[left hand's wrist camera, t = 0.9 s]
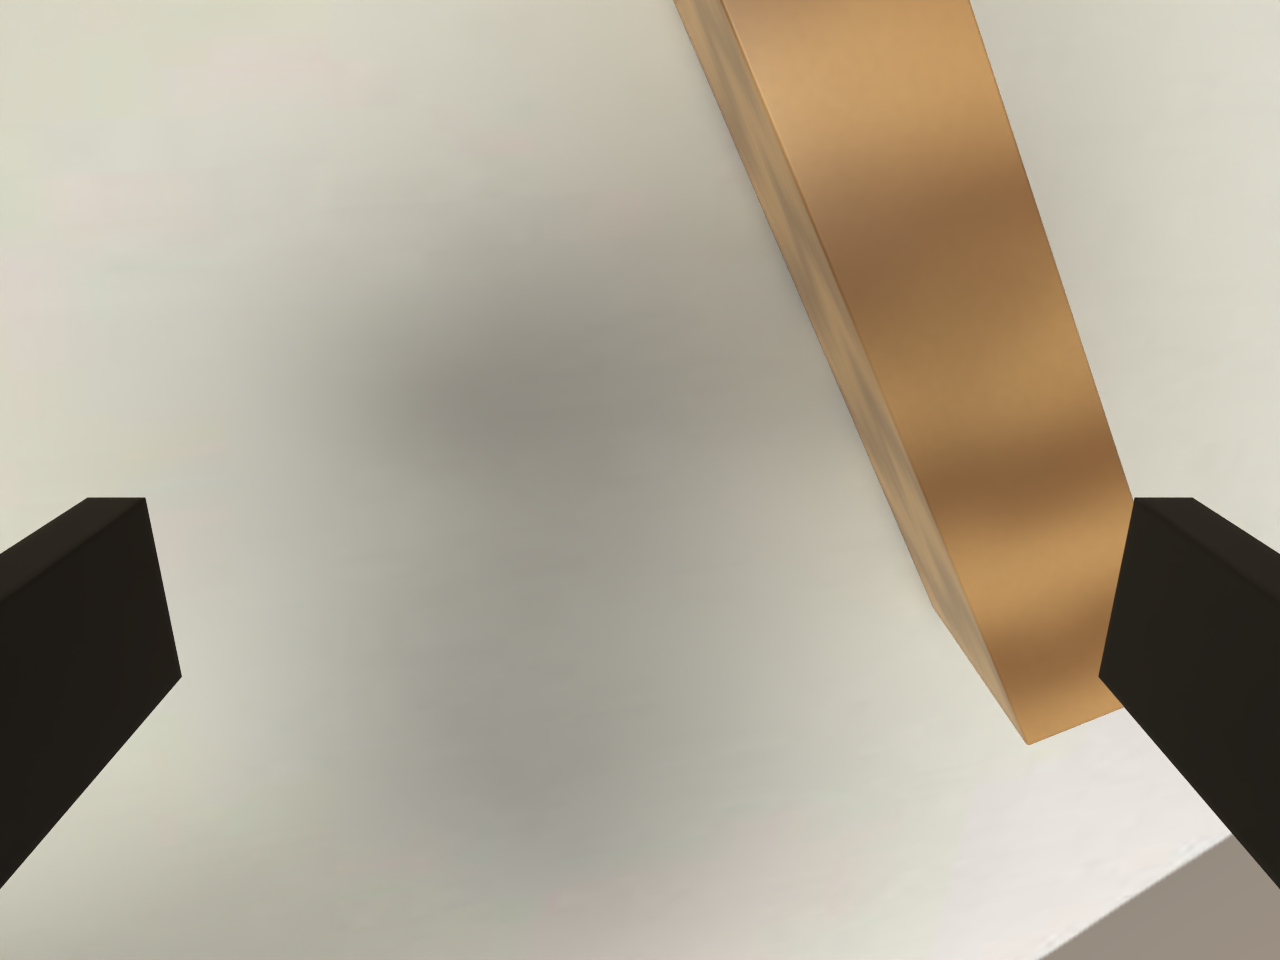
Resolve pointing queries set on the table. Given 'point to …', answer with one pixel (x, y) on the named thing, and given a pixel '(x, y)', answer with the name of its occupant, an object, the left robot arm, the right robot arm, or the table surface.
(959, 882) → the table surface
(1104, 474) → the beam
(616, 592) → the table surface
